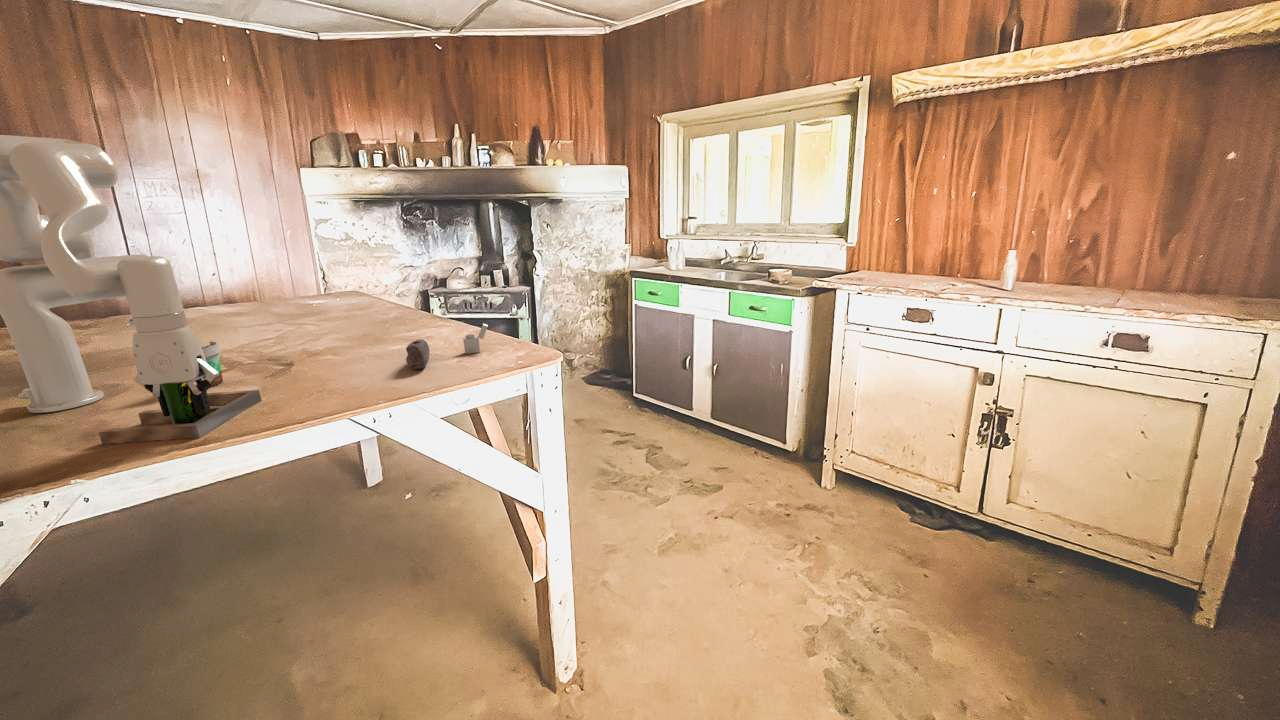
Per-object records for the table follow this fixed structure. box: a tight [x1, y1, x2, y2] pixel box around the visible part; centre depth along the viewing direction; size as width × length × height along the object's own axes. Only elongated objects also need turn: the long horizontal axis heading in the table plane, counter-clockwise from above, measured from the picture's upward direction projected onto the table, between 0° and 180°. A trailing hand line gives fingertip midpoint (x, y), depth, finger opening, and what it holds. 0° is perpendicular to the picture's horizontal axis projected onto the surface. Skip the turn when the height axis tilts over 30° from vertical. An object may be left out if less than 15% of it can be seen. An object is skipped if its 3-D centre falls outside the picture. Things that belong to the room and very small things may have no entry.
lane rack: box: [98, 389, 262, 445], centre depth 114 cm, size 18×20×2 cm
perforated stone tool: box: [405, 338, 430, 370], centre depth 147 cm, size 15×5×7 cm, turn 11°
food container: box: [197, 341, 224, 389], centre depth 135 cm, size 12×6×10 cm, turn 168°
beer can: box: [161, 381, 206, 425], centre depth 108 cm, size 5×5×12 cm
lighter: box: [462, 322, 489, 355], centre depth 157 cm, size 7×2×8 cm, turn 106°
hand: (187, 412), depth 109 cm, fingers closed on beer can, 5 cm apart
